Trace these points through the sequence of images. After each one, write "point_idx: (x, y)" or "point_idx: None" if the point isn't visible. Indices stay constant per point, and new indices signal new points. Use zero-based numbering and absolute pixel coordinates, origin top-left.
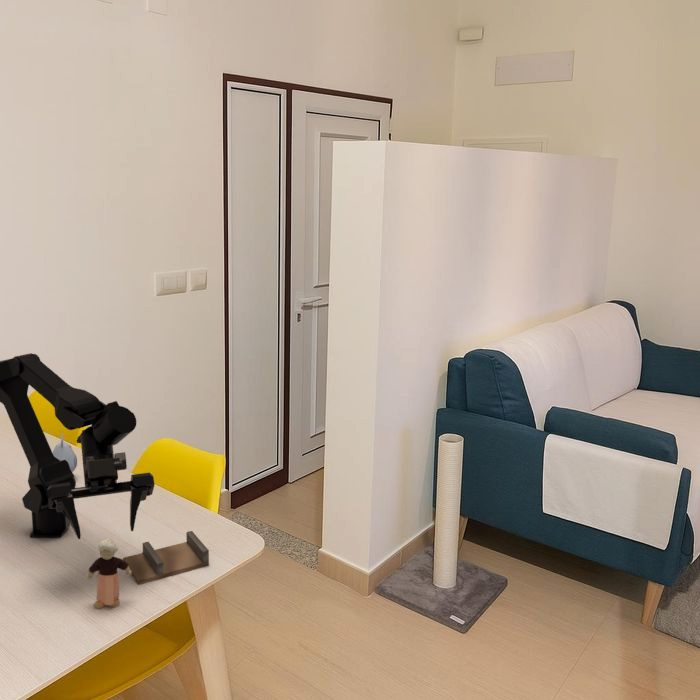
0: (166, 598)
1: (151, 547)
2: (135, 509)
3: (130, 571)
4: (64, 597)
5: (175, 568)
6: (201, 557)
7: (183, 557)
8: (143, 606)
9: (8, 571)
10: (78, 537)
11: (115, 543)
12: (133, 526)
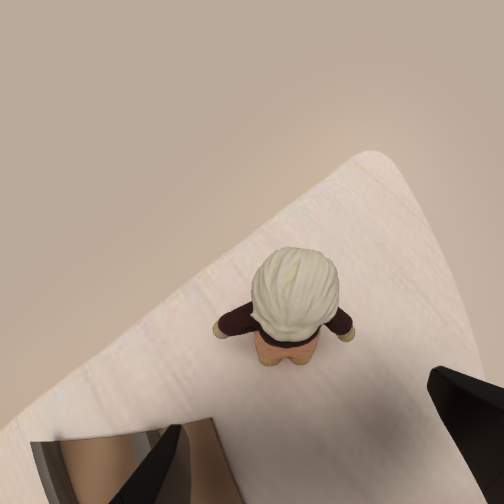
0: (147, 340)
1: None
2: (122, 498)
3: (215, 323)
4: (387, 383)
5: (115, 446)
6: (55, 451)
7: (97, 485)
8: (199, 320)
9: None
10: (439, 366)
11: (261, 292)
12: (166, 432)
